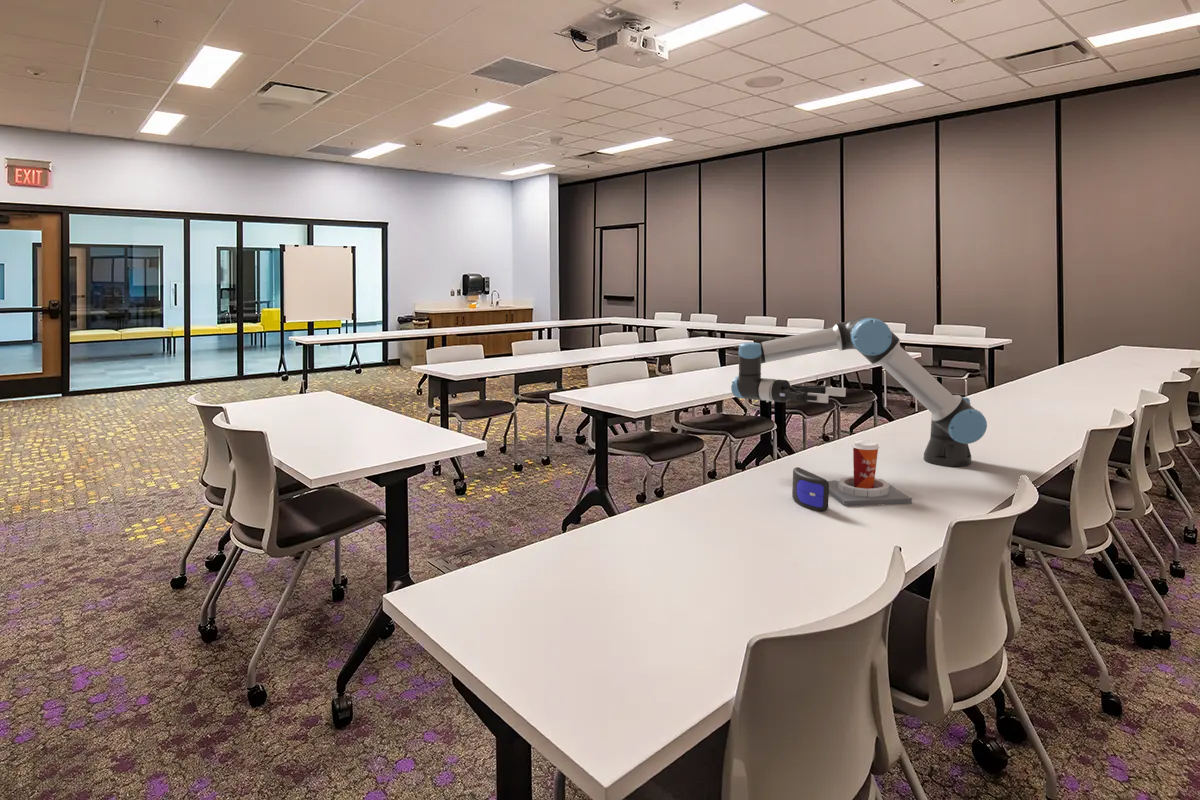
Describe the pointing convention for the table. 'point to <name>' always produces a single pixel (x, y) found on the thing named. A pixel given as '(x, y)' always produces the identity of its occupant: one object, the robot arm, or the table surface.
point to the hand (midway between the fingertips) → (836, 395)
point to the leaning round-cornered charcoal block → (810, 490)
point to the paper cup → (864, 463)
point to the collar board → (869, 500)
